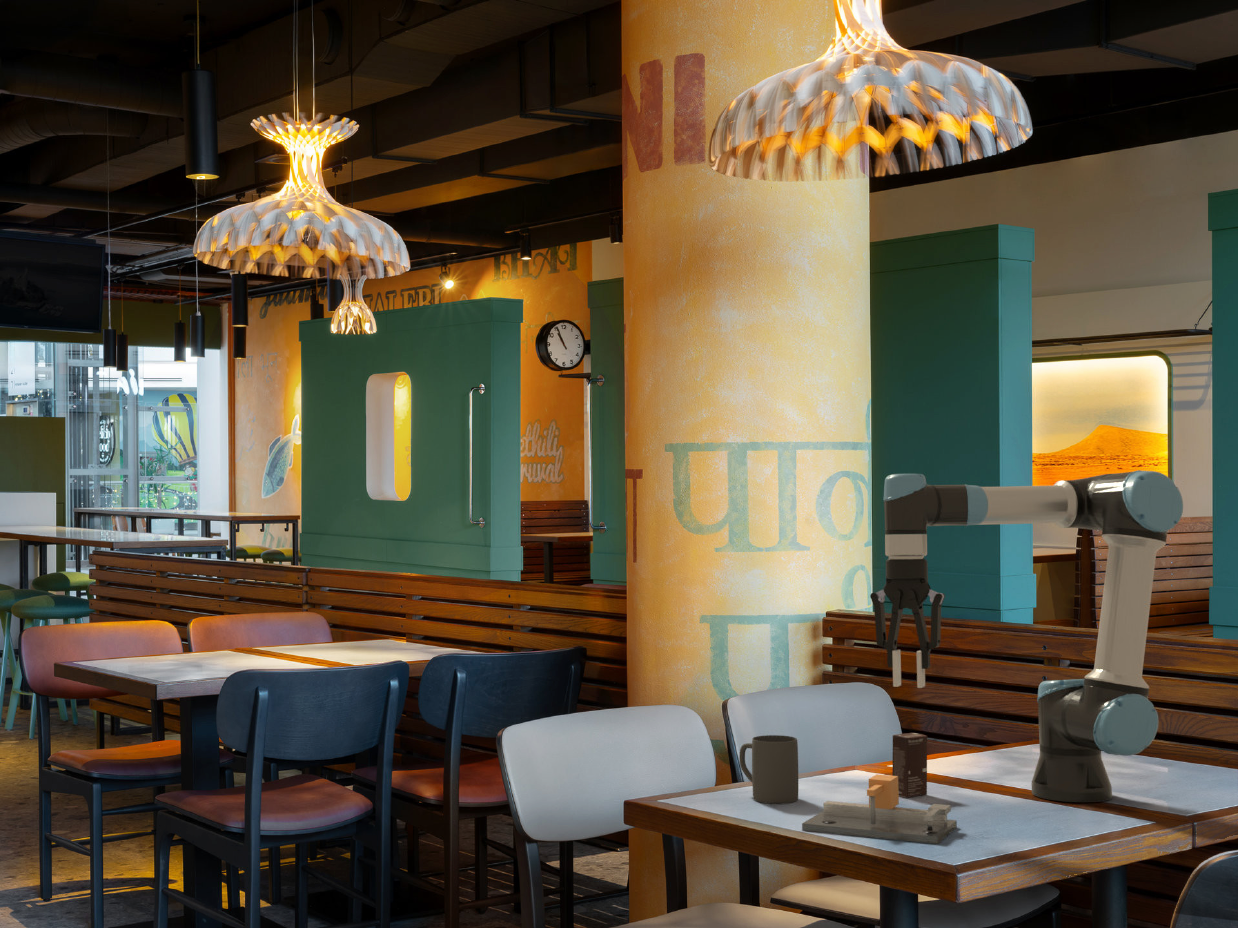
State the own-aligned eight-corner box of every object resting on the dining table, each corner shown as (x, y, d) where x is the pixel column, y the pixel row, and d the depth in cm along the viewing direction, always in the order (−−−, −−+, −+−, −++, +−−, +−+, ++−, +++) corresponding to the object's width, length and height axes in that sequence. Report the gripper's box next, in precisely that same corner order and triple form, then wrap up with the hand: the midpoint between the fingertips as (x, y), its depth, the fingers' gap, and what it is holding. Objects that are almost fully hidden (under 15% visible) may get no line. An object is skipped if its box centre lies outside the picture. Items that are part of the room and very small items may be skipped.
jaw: (898, 813, 231) (898, 775, 231) (882, 825, 221) (881, 786, 222) (877, 811, 233) (876, 774, 233) (859, 823, 223) (859, 784, 224)
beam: (951, 822, 226) (950, 805, 226) (937, 834, 217) (936, 816, 217) (829, 810, 236) (828, 794, 236) (810, 821, 227) (810, 804, 227)
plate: (956, 827, 227) (956, 819, 227) (937, 843, 215) (937, 836, 215) (827, 814, 238) (827, 807, 239) (802, 830, 226) (802, 822, 226)
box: (908, 798, 253) (906, 737, 254) (891, 794, 257) (890, 734, 257) (929, 794, 256) (928, 734, 257) (912, 791, 260) (911, 731, 261)
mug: (808, 799, 253) (807, 738, 254) (779, 806, 247) (778, 743, 247) (754, 790, 263) (754, 731, 264) (725, 796, 256) (725, 736, 257)
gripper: (957, 557, 233) (960, 686, 232) (867, 557, 241) (870, 682, 240) (947, 558, 227) (950, 690, 225) (855, 558, 235) (858, 686, 233)
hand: (909, 686), depth 233 cm, fingers open, 4 cm apart
